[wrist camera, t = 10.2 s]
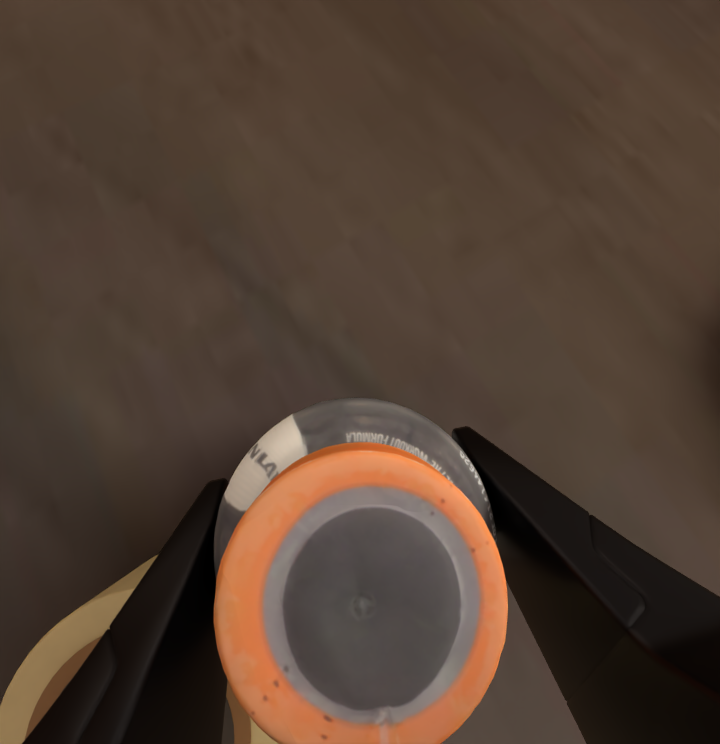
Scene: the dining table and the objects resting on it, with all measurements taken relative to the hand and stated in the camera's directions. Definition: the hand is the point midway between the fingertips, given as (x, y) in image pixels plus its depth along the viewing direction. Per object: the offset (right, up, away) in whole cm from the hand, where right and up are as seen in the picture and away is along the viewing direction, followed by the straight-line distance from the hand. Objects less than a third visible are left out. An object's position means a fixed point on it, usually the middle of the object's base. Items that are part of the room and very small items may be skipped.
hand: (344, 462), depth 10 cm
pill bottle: (0, -2, +7) cm, 7 cm away
